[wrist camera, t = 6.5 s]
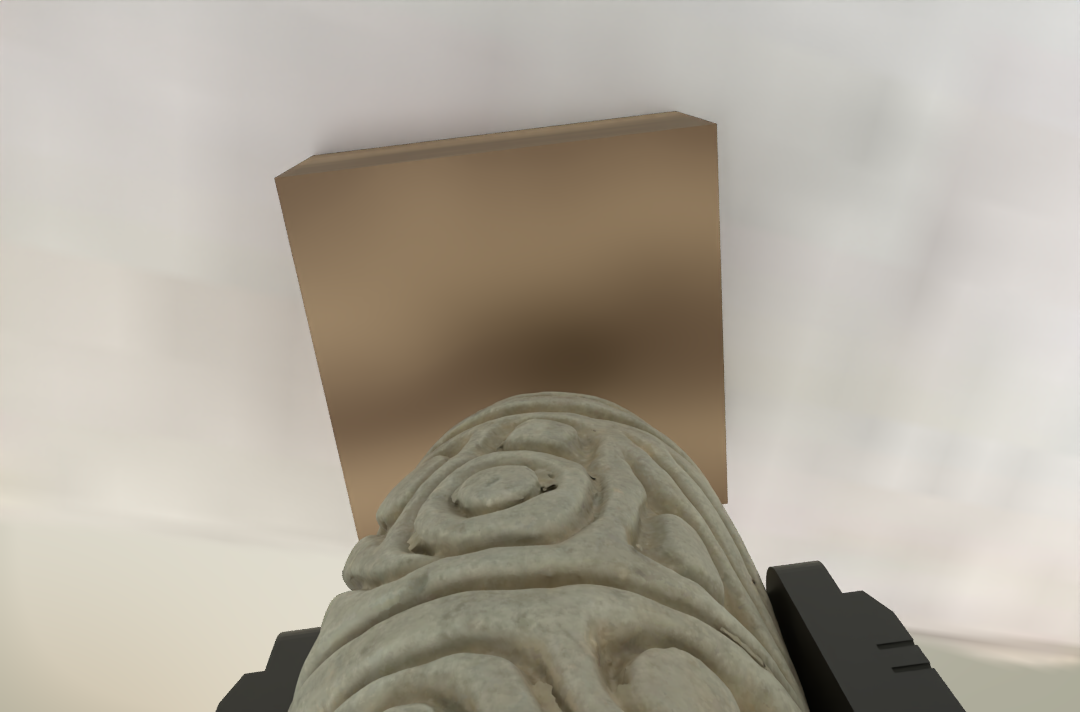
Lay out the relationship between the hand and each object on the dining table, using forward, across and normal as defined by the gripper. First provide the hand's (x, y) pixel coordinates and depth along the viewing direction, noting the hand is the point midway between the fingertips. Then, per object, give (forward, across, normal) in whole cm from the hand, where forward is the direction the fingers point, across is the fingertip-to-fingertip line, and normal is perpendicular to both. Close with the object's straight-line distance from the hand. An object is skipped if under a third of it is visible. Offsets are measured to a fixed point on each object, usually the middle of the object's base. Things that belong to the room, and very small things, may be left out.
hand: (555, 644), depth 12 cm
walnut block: (+17, 0, 0) cm, 17 cm away
